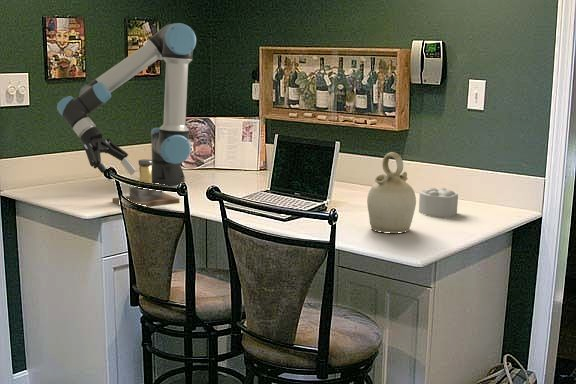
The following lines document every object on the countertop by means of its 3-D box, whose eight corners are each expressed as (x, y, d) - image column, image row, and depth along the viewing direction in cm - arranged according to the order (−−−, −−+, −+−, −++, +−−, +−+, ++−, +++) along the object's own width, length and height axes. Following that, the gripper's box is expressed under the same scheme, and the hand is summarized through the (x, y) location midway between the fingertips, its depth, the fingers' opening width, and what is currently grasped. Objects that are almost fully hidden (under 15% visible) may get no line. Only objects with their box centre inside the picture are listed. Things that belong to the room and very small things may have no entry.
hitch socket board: (162, 196, 283) (161, 181, 282) (179, 202, 272) (179, 188, 270) (112, 202, 271) (112, 187, 270) (128, 209, 260) (128, 193, 259)
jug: (381, 237, 228) (385, 156, 223) (357, 225, 241) (360, 149, 236) (424, 233, 234) (428, 154, 229) (397, 222, 247) (401, 147, 242)
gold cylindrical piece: (149, 196, 275) (148, 159, 272) (155, 198, 271) (154, 160, 268) (136, 197, 272) (136, 159, 269) (142, 200, 268) (142, 161, 265)
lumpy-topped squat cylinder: (447, 218, 253) (449, 193, 252) (413, 213, 261) (414, 189, 259) (459, 213, 262) (461, 189, 260) (425, 208, 269) (426, 184, 267)
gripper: (103, 135, 289) (136, 176, 286) (60, 143, 267) (95, 187, 264) (114, 122, 286) (147, 164, 283) (71, 129, 264) (107, 174, 261)
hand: (122, 175), depth 273 cm, fingers open, 13 cm apart
